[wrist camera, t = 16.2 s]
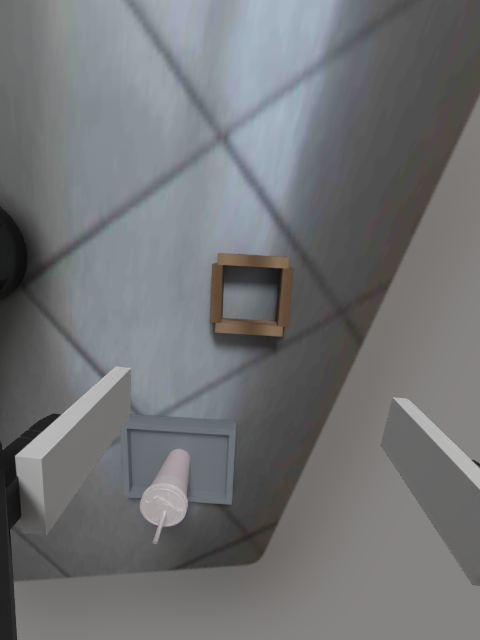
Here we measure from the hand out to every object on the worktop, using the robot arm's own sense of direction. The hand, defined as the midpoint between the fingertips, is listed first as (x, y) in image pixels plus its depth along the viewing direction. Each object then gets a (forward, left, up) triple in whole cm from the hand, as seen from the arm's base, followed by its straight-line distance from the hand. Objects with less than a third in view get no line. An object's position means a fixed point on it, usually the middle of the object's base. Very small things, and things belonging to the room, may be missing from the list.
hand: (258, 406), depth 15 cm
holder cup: (0, +1, -30) cm, 30 cm away
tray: (-10, -27, -30) cm, 41 cm away
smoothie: (-10, -27, -29) cm, 41 cm away
